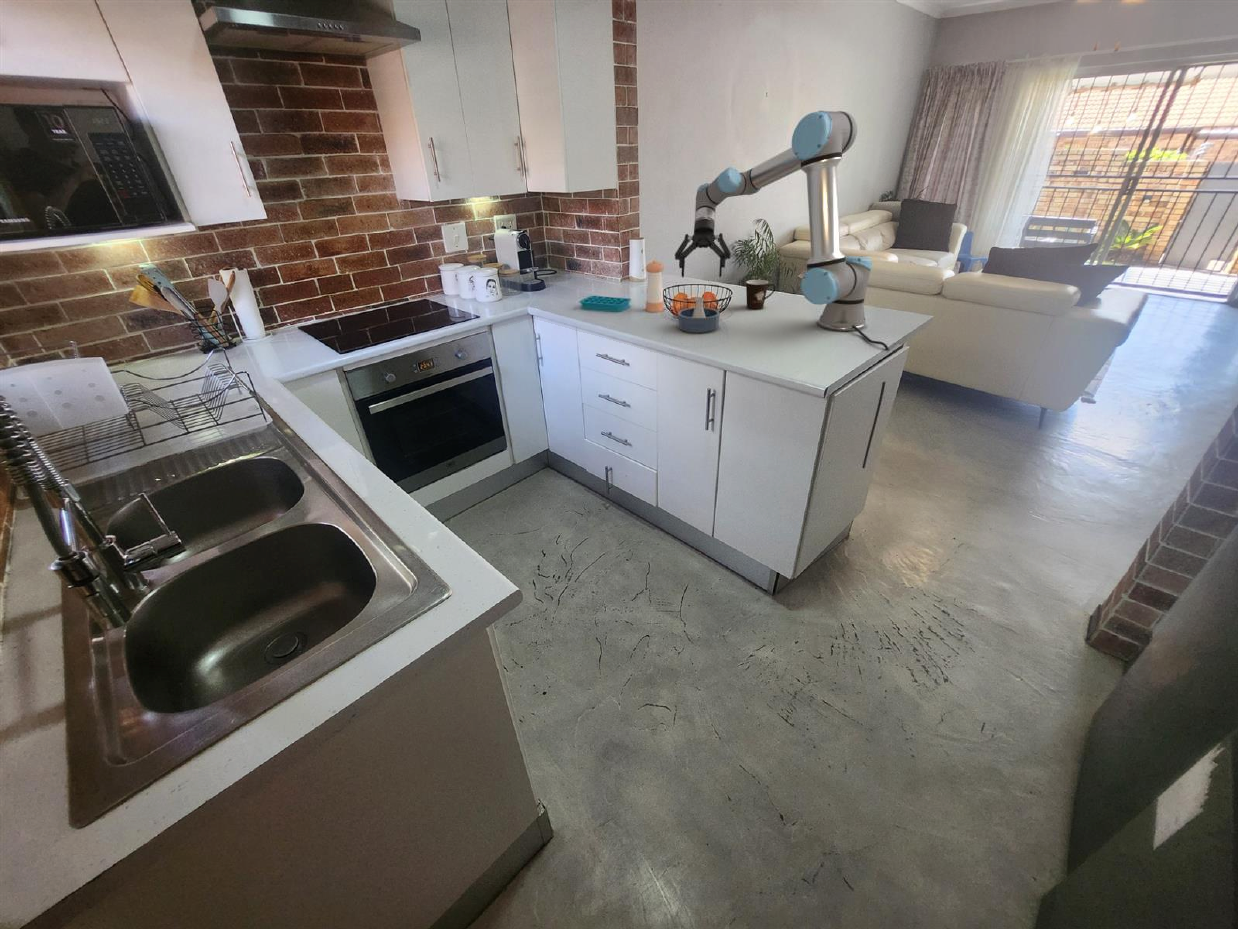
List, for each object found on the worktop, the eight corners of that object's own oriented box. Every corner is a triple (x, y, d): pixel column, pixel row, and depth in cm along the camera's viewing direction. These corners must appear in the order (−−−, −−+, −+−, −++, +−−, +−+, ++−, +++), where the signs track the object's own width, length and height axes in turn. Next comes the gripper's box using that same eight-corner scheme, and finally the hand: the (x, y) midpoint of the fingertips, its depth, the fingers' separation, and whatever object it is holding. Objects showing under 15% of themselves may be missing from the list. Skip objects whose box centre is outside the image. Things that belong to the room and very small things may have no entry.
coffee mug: (743, 310, 202) (745, 284, 197) (744, 304, 209) (746, 279, 204) (773, 310, 200) (776, 284, 194) (773, 305, 207) (776, 279, 201)
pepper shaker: (656, 306, 213) (656, 258, 203) (667, 309, 208) (667, 260, 198) (642, 309, 210) (641, 260, 200) (652, 313, 205) (652, 263, 195)
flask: (707, 329, 181) (709, 300, 176) (687, 329, 182) (688, 300, 177) (708, 323, 187) (710, 295, 182) (689, 323, 188) (689, 295, 183)
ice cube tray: (592, 302, 224) (591, 295, 223) (632, 305, 216) (632, 298, 214) (578, 308, 216) (577, 301, 214) (619, 312, 207) (619, 305, 206)
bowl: (725, 330, 181) (726, 314, 178) (689, 336, 177) (689, 320, 174) (706, 320, 193) (707, 305, 190) (671, 325, 189) (671, 310, 186)
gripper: (737, 230, 190) (735, 280, 185) (671, 232, 194) (667, 281, 190) (739, 216, 183) (737, 268, 178) (670, 218, 187) (666, 269, 182)
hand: (701, 274), depth 184 cm, fingers open, 13 cm apart
